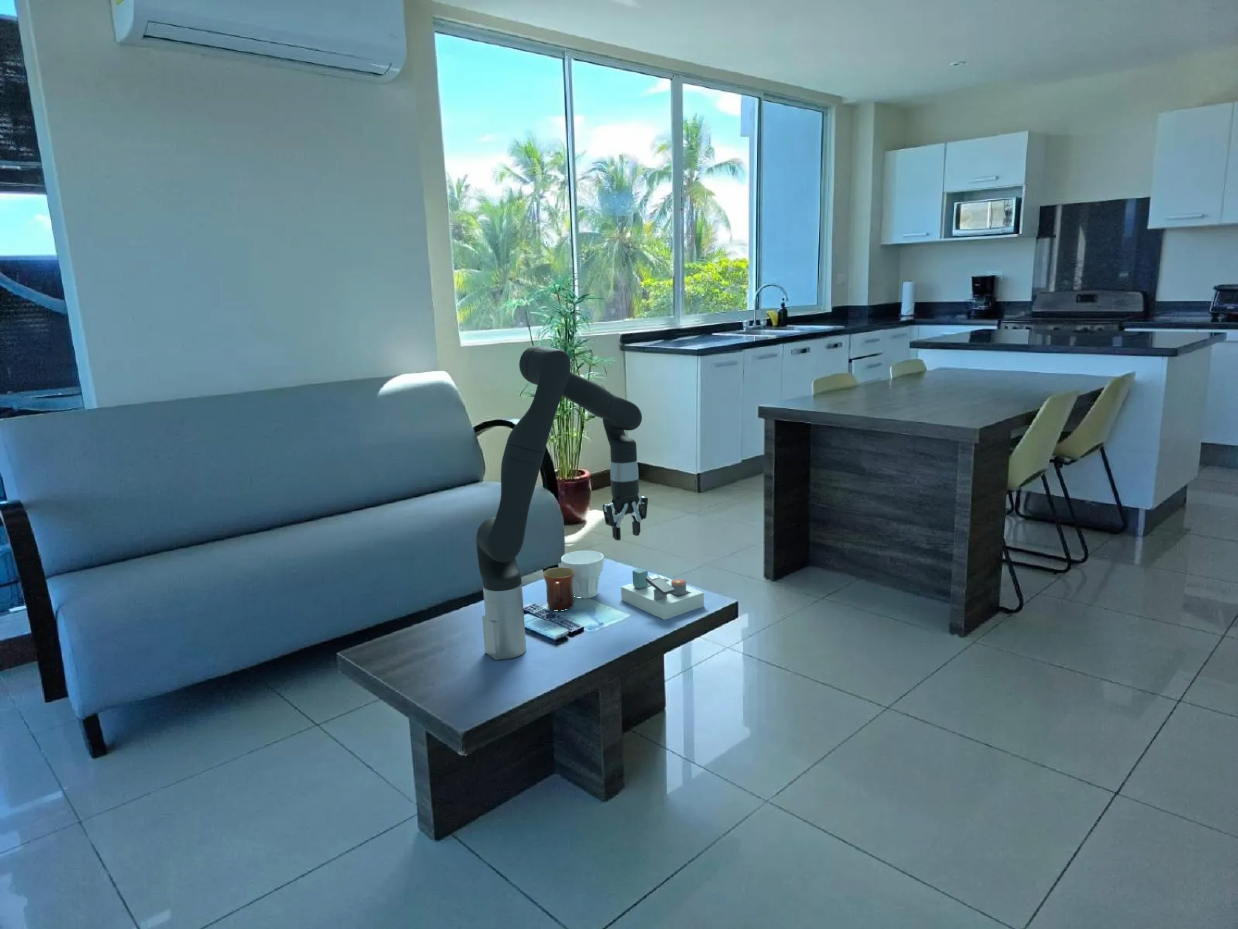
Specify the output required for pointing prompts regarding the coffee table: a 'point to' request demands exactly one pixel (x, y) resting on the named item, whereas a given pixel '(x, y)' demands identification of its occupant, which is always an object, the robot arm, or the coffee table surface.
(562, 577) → the mug
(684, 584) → the push button
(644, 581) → the slider knob
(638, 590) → the panel
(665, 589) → the rocker
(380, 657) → the coffee table surface
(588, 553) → the cup
